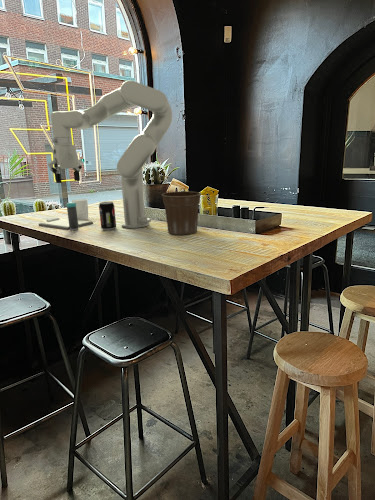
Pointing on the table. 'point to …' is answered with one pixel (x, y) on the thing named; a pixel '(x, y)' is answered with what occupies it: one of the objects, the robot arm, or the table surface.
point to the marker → (72, 216)
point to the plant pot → (181, 211)
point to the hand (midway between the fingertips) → (68, 181)
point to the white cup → (81, 208)
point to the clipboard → (62, 223)
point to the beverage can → (107, 215)
